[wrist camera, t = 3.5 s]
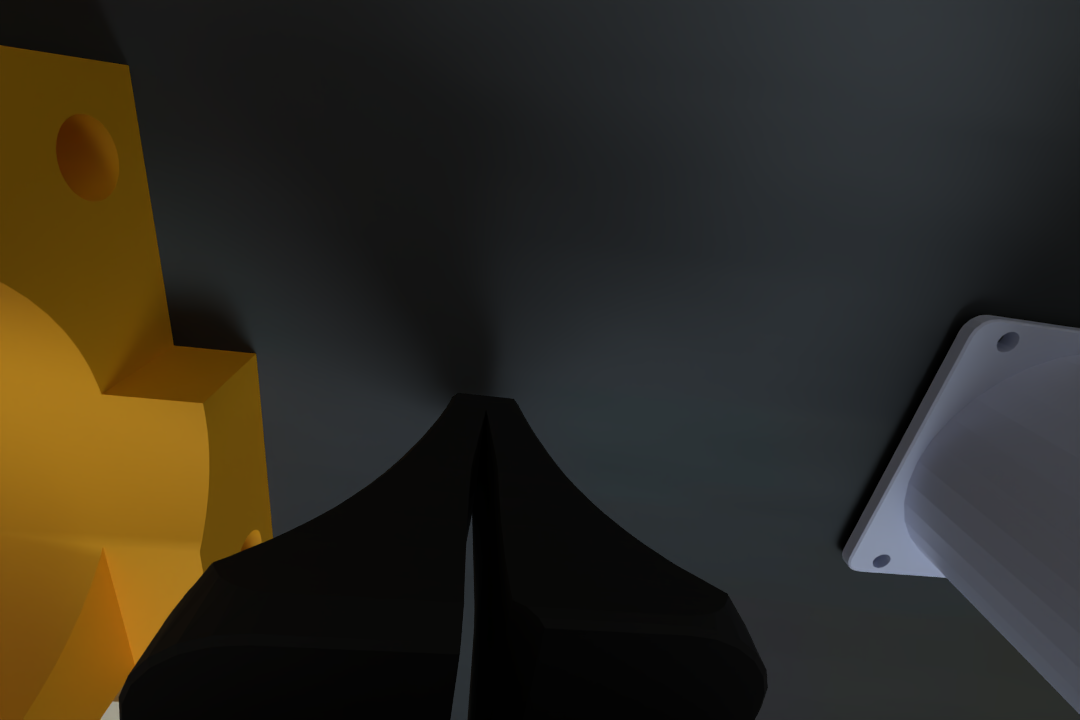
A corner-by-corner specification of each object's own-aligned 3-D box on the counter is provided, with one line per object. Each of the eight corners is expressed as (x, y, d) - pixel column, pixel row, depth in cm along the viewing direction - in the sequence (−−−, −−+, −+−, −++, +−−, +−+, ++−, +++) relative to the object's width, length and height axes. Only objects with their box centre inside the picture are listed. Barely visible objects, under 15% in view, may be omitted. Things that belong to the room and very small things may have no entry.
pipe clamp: (277, 559, 14) (122, 855, 9) (110, 550, 14) (-173, 857, 8) (234, 82, 10) (-188, 18, 4) (-24, 41, 9) (-982, -108, 3)
